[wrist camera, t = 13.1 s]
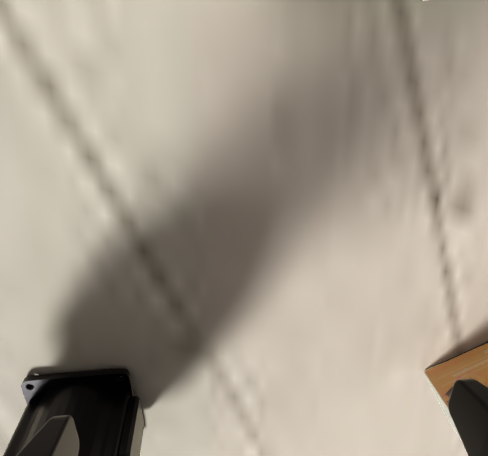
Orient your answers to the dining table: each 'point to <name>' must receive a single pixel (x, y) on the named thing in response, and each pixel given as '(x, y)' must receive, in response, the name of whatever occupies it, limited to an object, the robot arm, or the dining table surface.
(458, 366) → the small box
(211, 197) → the dining table surface
